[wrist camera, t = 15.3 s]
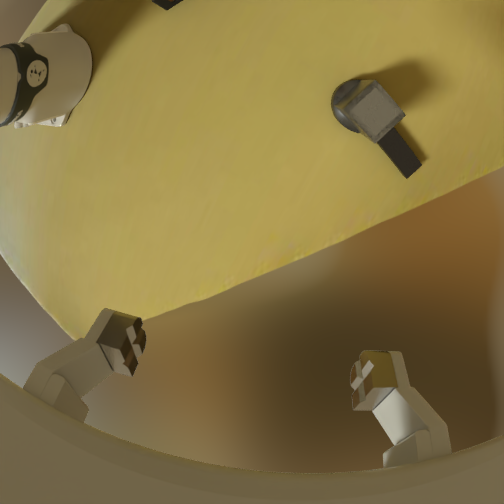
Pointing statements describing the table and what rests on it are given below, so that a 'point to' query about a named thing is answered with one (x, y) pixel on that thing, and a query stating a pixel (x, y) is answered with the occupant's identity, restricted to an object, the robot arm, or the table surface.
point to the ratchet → (388, 143)
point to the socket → (370, 109)
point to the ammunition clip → (166, 3)
